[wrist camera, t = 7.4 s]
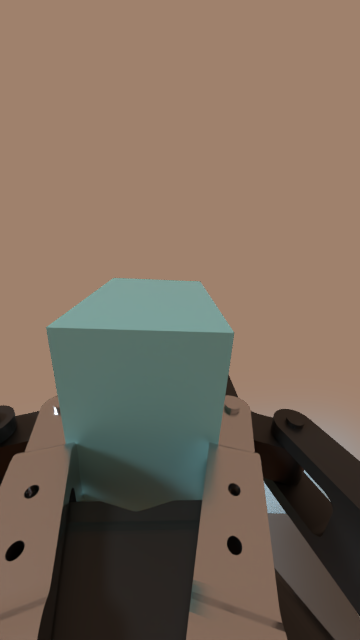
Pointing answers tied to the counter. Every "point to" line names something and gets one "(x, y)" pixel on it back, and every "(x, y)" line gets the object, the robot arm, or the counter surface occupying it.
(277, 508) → the counter surface
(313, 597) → the mat
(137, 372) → the card box
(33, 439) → the robot arm
